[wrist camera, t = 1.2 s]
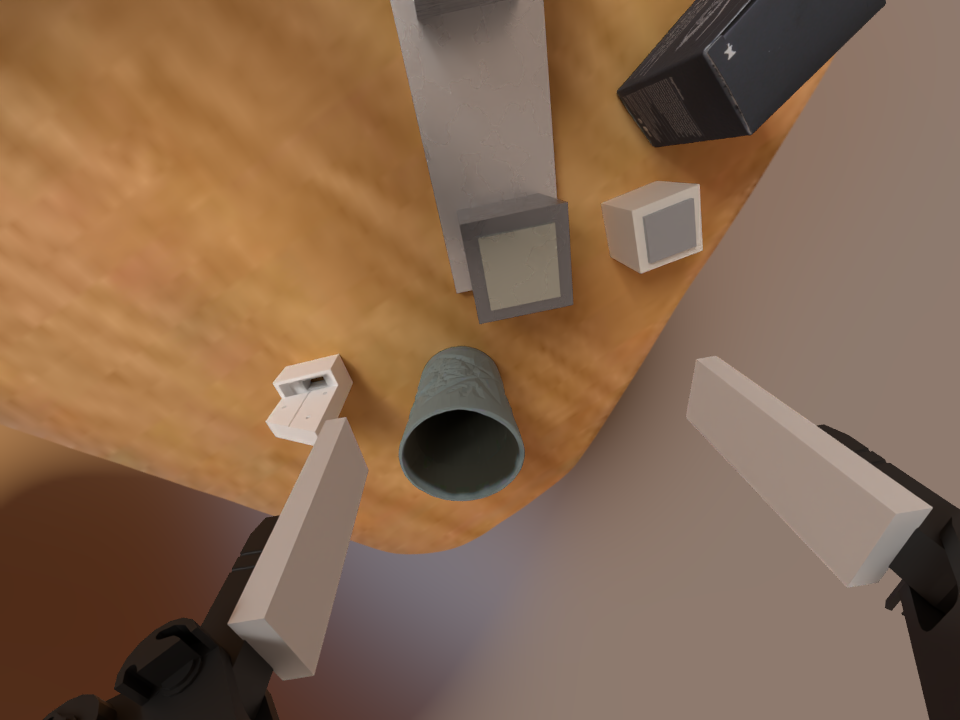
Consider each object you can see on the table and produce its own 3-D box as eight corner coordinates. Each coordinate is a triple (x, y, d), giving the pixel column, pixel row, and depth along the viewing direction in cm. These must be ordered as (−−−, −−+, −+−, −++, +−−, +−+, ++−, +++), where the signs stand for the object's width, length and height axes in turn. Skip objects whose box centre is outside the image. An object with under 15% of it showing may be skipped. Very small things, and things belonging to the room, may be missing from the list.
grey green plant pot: (504, 412, 41) (524, 496, 31) (418, 420, 41) (409, 508, 30) (502, 334, 36) (525, 402, 26) (404, 342, 36) (387, 415, 25)
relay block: (600, 203, 31) (634, 211, 25) (656, 180, 30) (703, 184, 25) (610, 256, 33) (643, 275, 28) (661, 236, 33) (706, 251, 27)
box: (652, 149, 29) (749, 142, 20) (612, 92, 27) (700, 53, 18) (738, 59, 27) (896, 3, 17) (701, -12, 25) (859, -120, 15)
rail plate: (362, -126, 21) (308, -313, 13) (527, -164, 21) (580, -379, 12) (456, 290, 34) (459, 330, 25) (559, 268, 33) (595, 302, 25)
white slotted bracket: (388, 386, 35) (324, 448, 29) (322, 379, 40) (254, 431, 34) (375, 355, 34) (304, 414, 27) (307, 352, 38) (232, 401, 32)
